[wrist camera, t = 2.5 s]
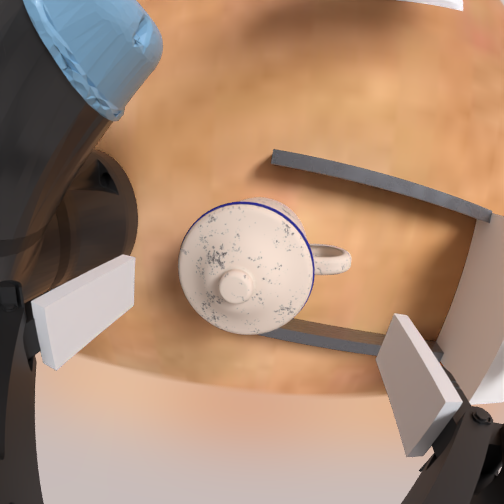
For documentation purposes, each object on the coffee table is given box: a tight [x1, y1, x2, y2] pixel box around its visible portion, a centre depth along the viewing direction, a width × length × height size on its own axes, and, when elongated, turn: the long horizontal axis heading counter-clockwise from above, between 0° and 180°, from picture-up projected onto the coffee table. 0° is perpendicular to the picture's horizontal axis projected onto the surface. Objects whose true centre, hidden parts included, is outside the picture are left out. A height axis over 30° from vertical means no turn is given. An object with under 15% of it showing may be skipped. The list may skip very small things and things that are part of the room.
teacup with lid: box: [178, 197, 351, 335], centre depth 22 cm, size 12×9×12 cm
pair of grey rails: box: [257, 149, 492, 362], centre depth 25 cm, size 22×16×2 cm
